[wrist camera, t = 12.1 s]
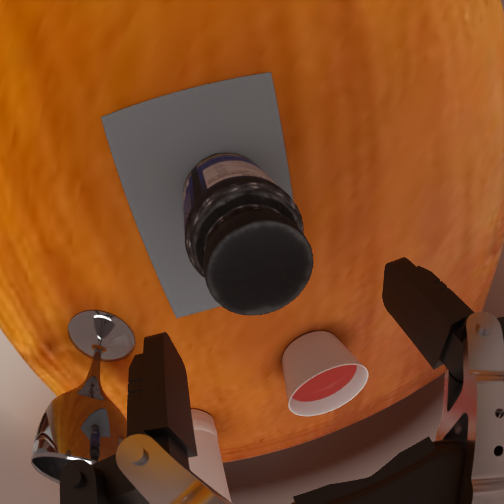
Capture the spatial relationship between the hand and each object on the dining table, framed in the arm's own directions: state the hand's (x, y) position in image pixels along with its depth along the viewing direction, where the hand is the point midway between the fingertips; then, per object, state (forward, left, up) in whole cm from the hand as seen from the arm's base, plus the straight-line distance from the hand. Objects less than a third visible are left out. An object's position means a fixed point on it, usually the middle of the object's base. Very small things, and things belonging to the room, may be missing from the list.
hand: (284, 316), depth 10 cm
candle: (+21, +5, -15) cm, 26 cm away
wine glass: (+11, -15, -15) cm, 24 cm away
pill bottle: (0, 0, -14) cm, 14 cm away
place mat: (+1, -1, -15) cm, 15 cm away
